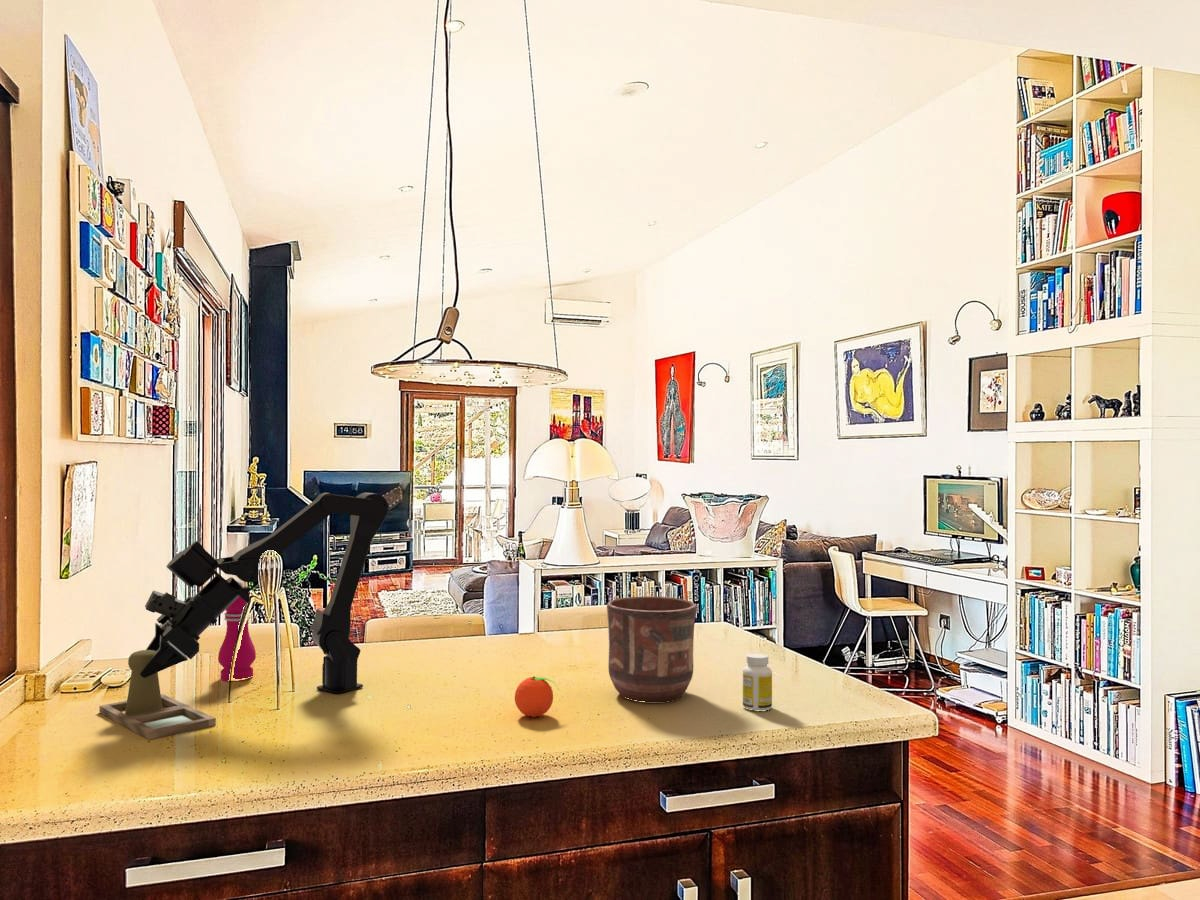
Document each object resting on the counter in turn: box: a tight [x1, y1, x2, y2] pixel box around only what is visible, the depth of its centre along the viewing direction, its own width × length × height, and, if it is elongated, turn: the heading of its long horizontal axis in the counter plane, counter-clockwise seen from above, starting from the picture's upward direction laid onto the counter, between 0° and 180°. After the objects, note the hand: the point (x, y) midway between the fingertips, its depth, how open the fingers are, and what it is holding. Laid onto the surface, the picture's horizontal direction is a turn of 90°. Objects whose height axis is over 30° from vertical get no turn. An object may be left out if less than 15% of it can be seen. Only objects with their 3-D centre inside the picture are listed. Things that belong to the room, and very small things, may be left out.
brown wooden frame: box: [98, 693, 217, 740], centre depth 157 cm, size 22×11×1 cm, turn 48°
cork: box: [124, 649, 163, 715], centre depth 160 cm, size 6×6×11 cm
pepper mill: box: [217, 580, 257, 682], centre depth 185 cm, size 7×7×20 cm
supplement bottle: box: [742, 653, 773, 711], centre depth 167 cm, size 5×5×10 cm
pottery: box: [606, 595, 697, 703], centre depth 176 cm, size 18×18×18 cm
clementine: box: [514, 676, 560, 718], centre depth 161 cm, size 8×7×7 cm
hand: (140, 670), depth 160 cm, fingers open, 9 cm apart
